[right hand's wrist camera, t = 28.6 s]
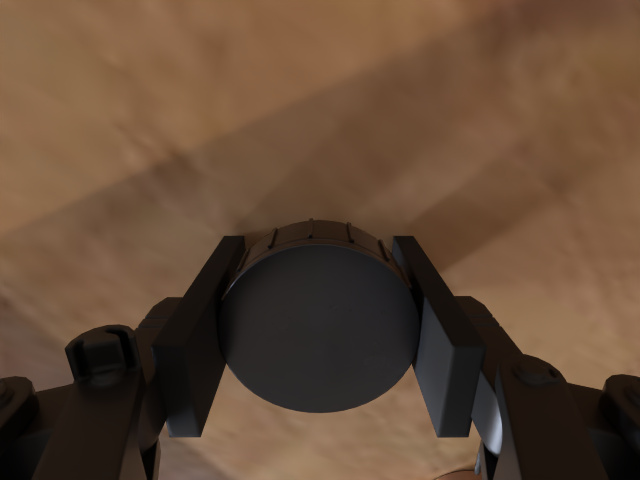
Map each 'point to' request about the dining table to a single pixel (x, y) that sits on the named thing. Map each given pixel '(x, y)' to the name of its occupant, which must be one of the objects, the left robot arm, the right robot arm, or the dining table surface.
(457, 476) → the jar
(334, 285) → the lid
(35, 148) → the dining table surface
